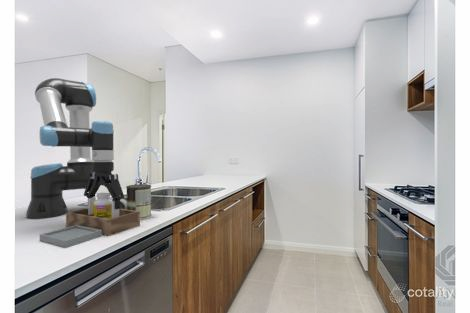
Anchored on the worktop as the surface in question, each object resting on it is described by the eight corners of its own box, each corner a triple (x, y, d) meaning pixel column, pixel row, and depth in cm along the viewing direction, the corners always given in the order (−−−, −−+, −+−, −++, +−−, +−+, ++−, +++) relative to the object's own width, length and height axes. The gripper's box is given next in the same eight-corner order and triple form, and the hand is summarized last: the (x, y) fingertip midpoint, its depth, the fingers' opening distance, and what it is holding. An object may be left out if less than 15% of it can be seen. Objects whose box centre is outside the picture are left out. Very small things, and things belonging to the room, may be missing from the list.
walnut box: (66, 226, 97) (66, 212, 97) (99, 218, 109) (99, 205, 109) (108, 235, 86) (108, 219, 86) (139, 225, 99) (139, 211, 99)
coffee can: (122, 220, 106) (122, 187, 106) (131, 214, 116) (130, 184, 116) (147, 220, 107) (147, 187, 107) (153, 214, 117) (153, 184, 117)
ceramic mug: (129, 212, 120) (129, 196, 120) (125, 217, 112) (125, 199, 112) (105, 214, 118) (105, 198, 117) (99, 218, 110) (99, 201, 109)
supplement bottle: (93, 229, 93) (93, 195, 93) (94, 225, 99) (93, 192, 99) (113, 227, 97) (113, 193, 96) (112, 222, 102) (112, 191, 102)
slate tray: (39, 240, 82) (39, 234, 82) (76, 230, 92) (76, 225, 92) (65, 247, 76) (65, 241, 76) (101, 235, 86) (101, 230, 86)
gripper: (73, 161, 100) (74, 214, 100) (116, 161, 89) (117, 221, 89) (91, 161, 106) (91, 210, 107) (133, 161, 96) (134, 216, 96)
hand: (103, 215), depth 98 cm, fingers open, 13 cm apart
